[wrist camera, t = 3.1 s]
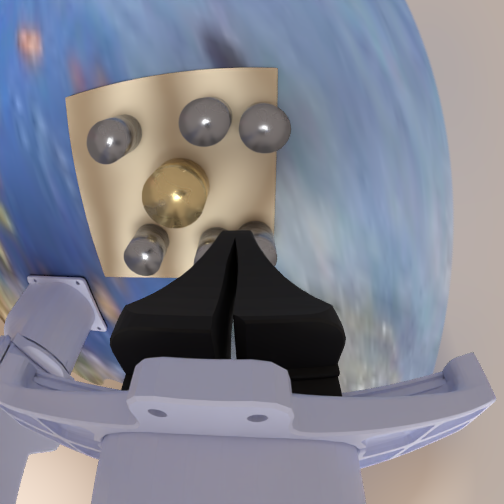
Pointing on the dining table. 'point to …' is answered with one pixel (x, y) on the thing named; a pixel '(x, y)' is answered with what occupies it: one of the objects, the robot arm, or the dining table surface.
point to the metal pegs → (199, 134)
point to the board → (166, 148)
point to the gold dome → (176, 193)
